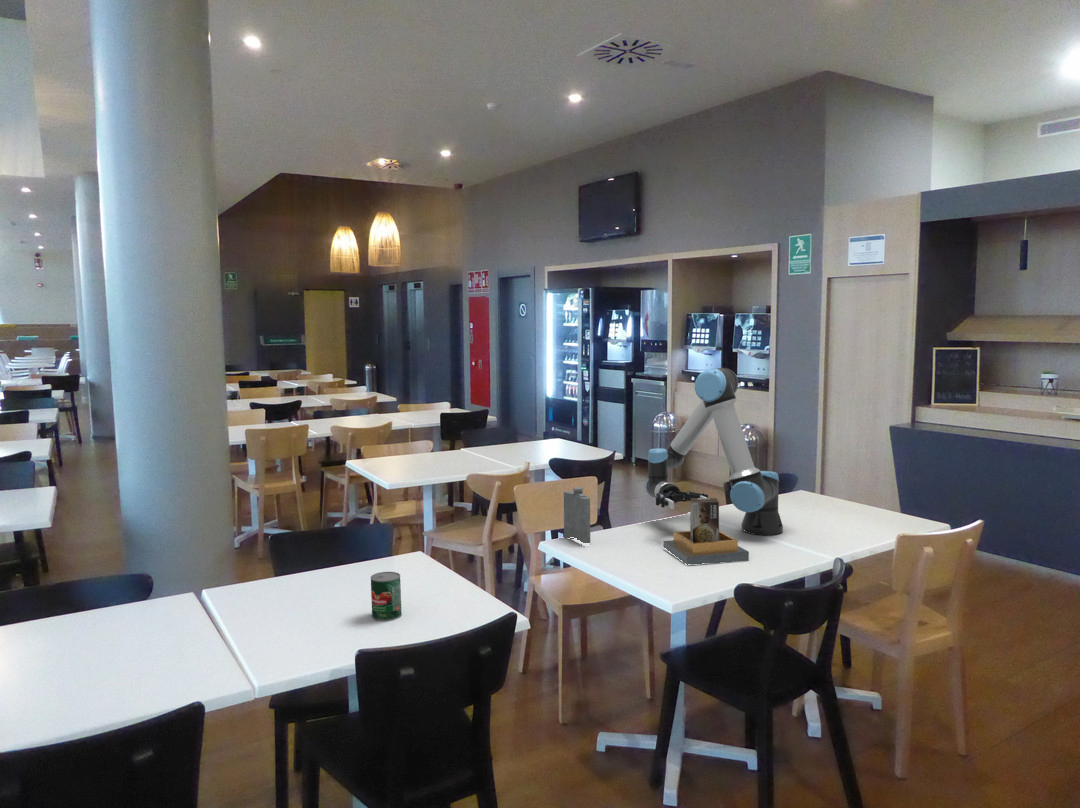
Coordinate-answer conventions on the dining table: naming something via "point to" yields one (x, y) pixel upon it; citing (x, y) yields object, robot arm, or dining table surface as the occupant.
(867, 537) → the dining table surface
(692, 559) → the square framed tray
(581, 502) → the hip flask
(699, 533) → the coffee box
